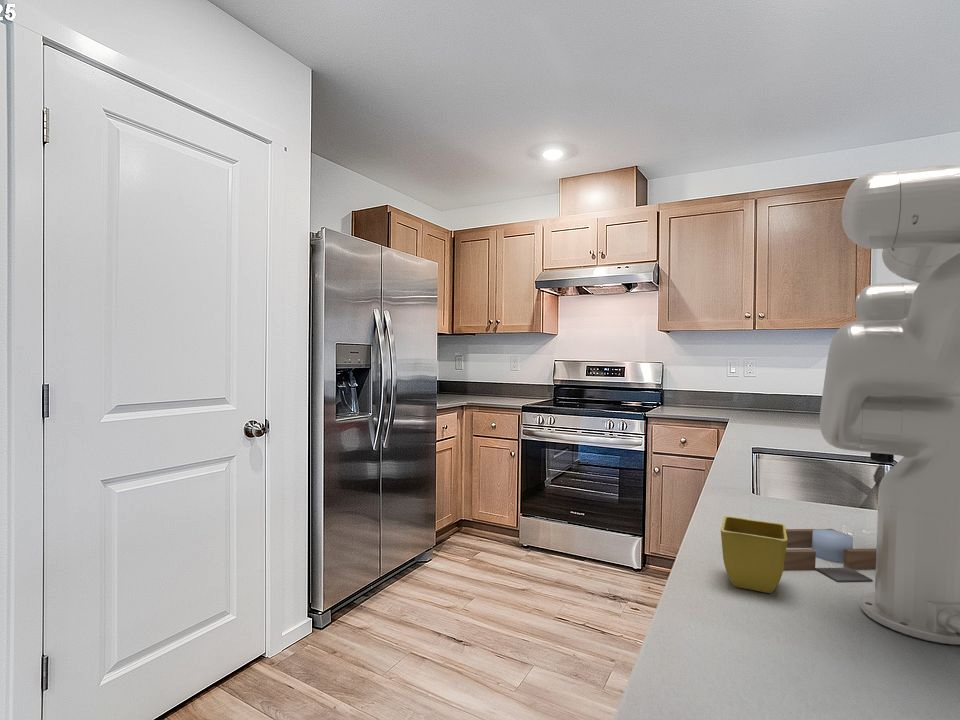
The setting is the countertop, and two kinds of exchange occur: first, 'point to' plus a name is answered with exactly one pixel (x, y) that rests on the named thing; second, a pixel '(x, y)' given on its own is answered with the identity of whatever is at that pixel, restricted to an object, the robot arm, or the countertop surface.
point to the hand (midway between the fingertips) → (881, 461)
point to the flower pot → (753, 552)
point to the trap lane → (807, 561)
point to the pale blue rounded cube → (831, 544)
